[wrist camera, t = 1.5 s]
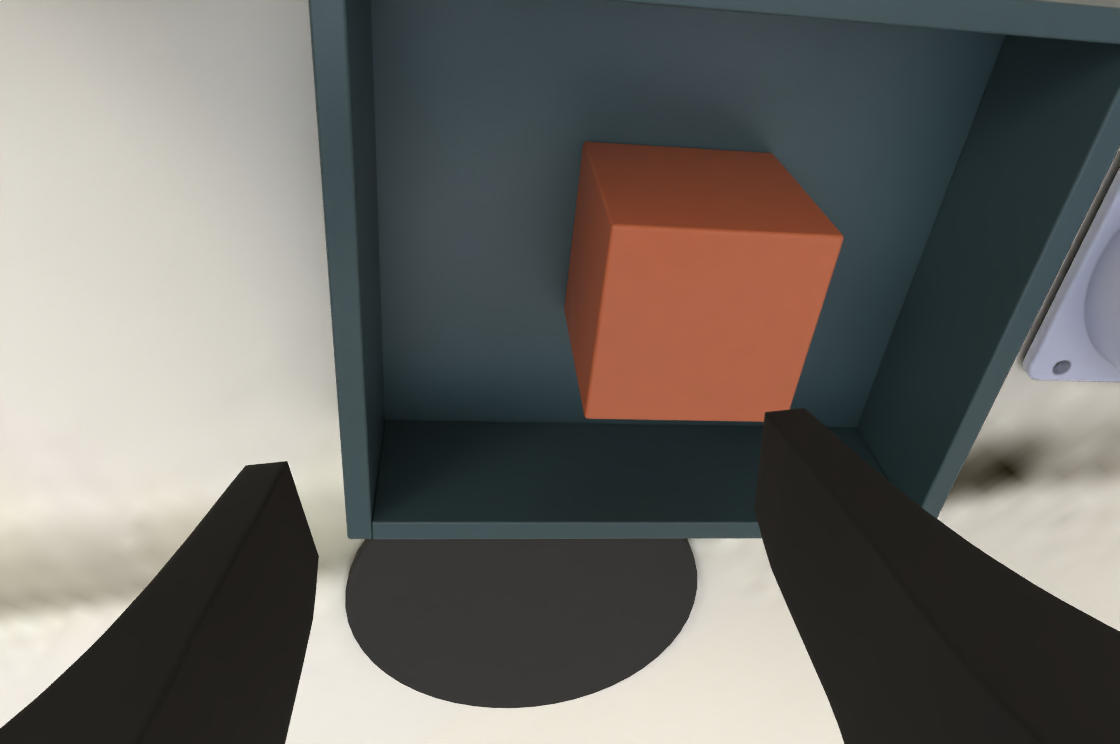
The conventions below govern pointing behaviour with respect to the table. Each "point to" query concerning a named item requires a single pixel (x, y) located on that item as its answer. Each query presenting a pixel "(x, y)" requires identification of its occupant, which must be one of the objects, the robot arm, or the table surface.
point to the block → (693, 282)
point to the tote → (689, 122)
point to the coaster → (518, 613)
